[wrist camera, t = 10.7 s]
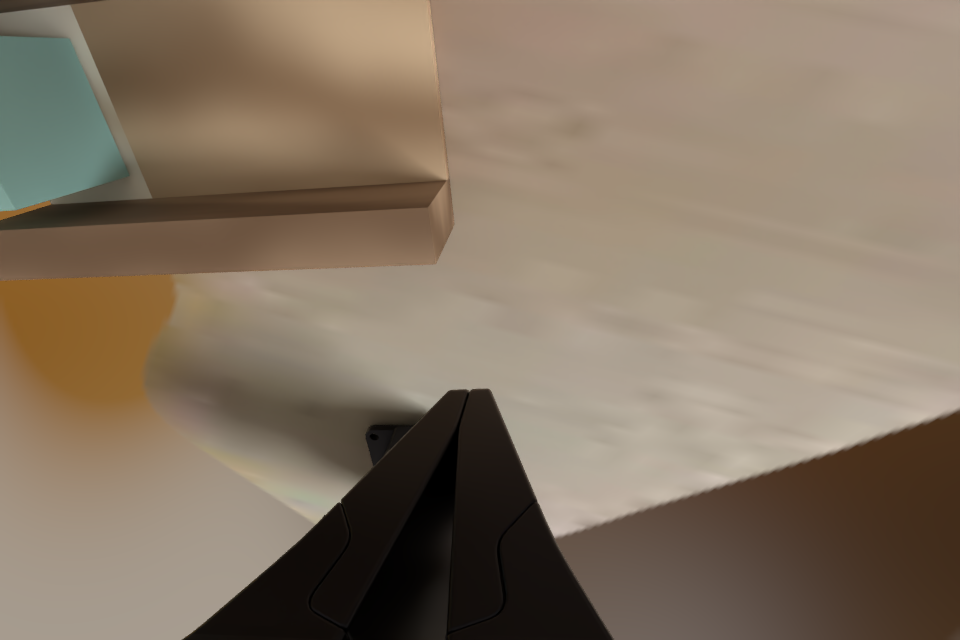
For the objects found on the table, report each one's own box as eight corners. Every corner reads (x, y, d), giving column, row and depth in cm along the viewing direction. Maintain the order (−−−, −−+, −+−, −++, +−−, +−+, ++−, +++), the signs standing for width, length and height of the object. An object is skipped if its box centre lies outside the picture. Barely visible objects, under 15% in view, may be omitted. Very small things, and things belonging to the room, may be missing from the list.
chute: (454, 224, 20) (435, 264, 16) (84, 242, 22) (-8, 280, 18) (416, -115, 15) (375, -174, 11) (-65, -46, 17) (-238, -74, 13)
